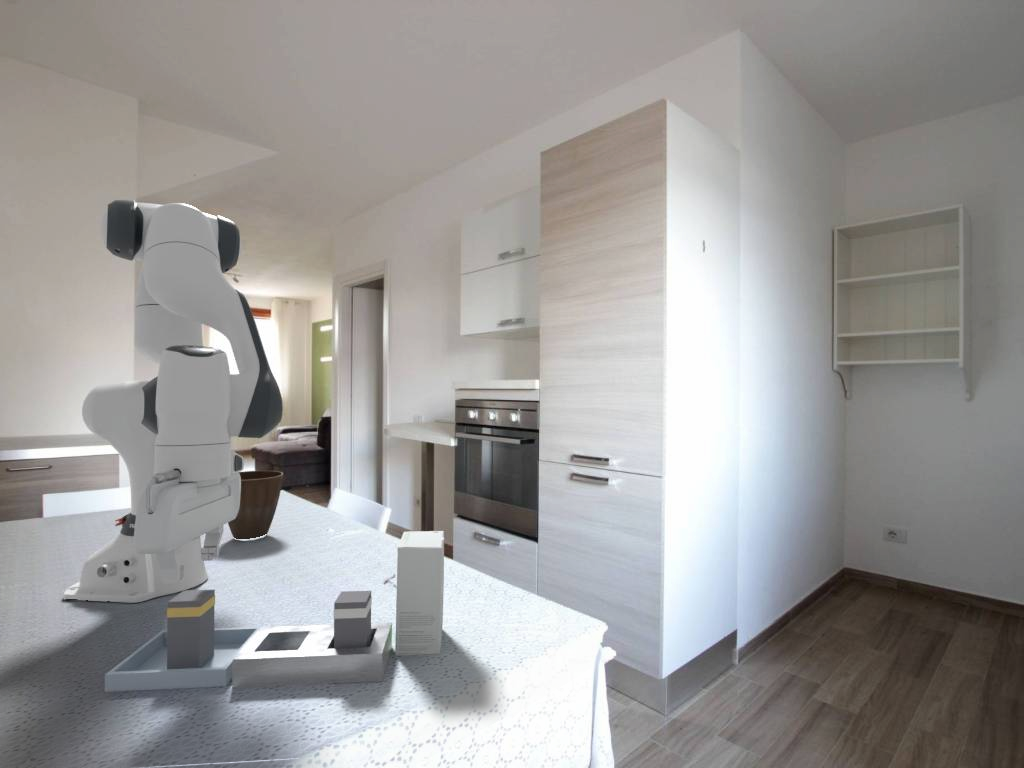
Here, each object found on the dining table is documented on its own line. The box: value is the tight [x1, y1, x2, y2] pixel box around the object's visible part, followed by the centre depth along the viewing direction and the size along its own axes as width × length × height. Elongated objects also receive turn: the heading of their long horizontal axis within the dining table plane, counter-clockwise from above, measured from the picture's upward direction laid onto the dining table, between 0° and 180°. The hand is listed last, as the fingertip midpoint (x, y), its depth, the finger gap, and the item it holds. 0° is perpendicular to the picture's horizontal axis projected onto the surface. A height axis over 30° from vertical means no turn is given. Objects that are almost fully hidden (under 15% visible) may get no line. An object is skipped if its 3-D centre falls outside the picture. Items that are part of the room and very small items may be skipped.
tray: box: [104, 626, 262, 693], centre depth 70 cm, size 14×12×3 cm
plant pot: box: [227, 470, 284, 539], centre depth 135 cm, size 15×15×16 cm
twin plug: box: [333, 590, 373, 648], centre depth 70 cm, size 4×4×9 cm
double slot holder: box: [231, 622, 393, 689], centre depth 70 cm, size 18×9×4 cm, turn 95°
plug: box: [166, 589, 216, 669], centre depth 70 cm, size 4×4×9 cm
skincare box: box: [394, 530, 445, 656], centre depth 77 cm, size 8×7×16 cm
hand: (192, 569), depth 70 cm, fingers open, 8 cm apart
